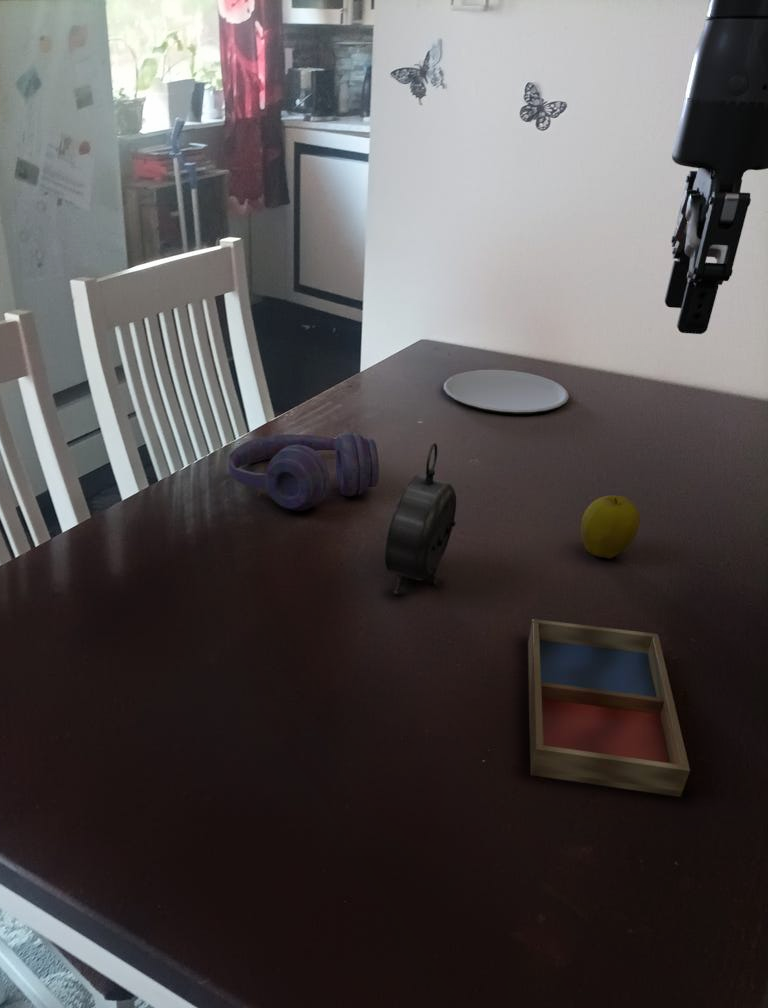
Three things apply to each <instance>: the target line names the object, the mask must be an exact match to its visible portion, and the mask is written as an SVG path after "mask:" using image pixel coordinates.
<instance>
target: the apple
mask: <svg viewBox="0 0 768 1008" xmlns="http://www.w3.org/2000/svg"><path fill="white" fill-rule="evenodd" d="M639 512H640V511H639V510H638V508H637V506H636V504H634V502H633V501H632V500H630V499H629V498H628V497H627V498H626V497H625V496H621V495H620V496H619V495H613V494H612V495H605V496H602V497H599V498H597V499H595V500H594V501H592V502H591V503H590V504H589V506H587V508H586V509H585V511H584V513H583V515H582V519H581V527H580V533H581V538H582V542H583V546H584V548H585V550H586V551H587V552H588V553H589V554H590V555H591V556H594V557H599V558H605V559H613V558H614V557H616V556H618V555H620V554H621V553H622V552H624V550H627V548H628V547H629V546H630V545H631V544H632V542H633V541H634V539H635V538H636V537H637V534H638V531H639V528H640V523H641V520H640V519H641V517H640V513H639Z"/></svg>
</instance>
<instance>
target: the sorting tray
mask: <svg viewBox="0 0 768 1008" xmlns="http://www.w3.org/2000/svg"><path fill="white" fill-rule="evenodd" d="M527 659H528V660H527V667H528V669H527V671H528V714H529V715H528V717H529V718H528V719H529V720H528V721H529V760H530V761H529V762H530V763H529V764H530V765H529V766H530V767H529V768H530V775H531V776H534V777H535V776H536V777H542V778H549V779H556V780H563V781H569V782H576V783H583V784H588V785H589V784H590V785H596V786H603V787H610V788H615V789H616V788H617V789H623V790H632V791H636V792H643V793H644V792H645V793H651V794H659V795H665V796H671V797H678V798H681V797H682V794H683V791H684V789H685V787H686V783H687V781H688V778H689V775H690V772H691V769H690V764H689V760H688V756H687V755H688V754H687V751H686V747H685V743H684V739H683V735H682V730H681V726H680V721H679V718H678V713H677V709H676V706H675V705H676V704H675V701H674V697H673V692H672V688H671V683H670V679H669V675H668V670H667V667H666V663H665V658H664V653H663V649H662V645H661V641H660V637H659V633H654V632H645V631H644V632H643V631H635V630H627V629H619V628H611V627H602V626H595V625H584V624H577V623H568V622H562V621H561V622H560V621H552V620H546V619H545V620H544V619H536V618H532V620H531V625H530V630H529V636H528V640H527Z"/></svg>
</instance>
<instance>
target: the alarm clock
mask: <svg viewBox="0 0 768 1008" xmlns="http://www.w3.org/2000/svg"><path fill="white" fill-rule="evenodd" d="M433 450H434V455H433V456H434V457H433V462H432V466H431V467H430V461H431V457H432V453H433ZM437 459H438V445H437V443H436V442H433V443H432V444H431V445H430V446H429V450H428V453H427V458H426V463H425V464H426V465H425V467H426V468H425V475H426V476H422V475H420V474H416V475H413V476H412V478H410V479H409V481H408V482H407V483H406V484H405V486H404V488H403V490H402V492H401V494H400V496H399V498H398V500H397V502H396V505H395V507H394V510H393V514H392V517H391V521H390V524H389V528H388V532H387V537H386V542H385V551H384V564H385V568H386V570H387V572H389V573H392V574H394V575H395V574H396V575H397V580H396V584H395V589H394V590H393V593H392V595H393V596H395V597H398V596H399V595H400V589H401V588H402V585H403V583H404V581H405V579H406V578H408V579H413V580H416V581H425V580H426V579H428V578H431V580H432V583H433V584H434V585H435V586H438V582H437V578H436V572H437V569H438V566H439V565H440V563H441V561H442V559H443V556H444V554H445V552H446V550H447V546H448V543H449V541H450V538H451V534H452V530H453V527H455V526H456V521H455V517H456V511H457V495H456V490H455V489H454V487H453V486H452V484H451V483H449V482H445V481H442V480H438V479H434V475H436V470H435V467H436V463H437Z"/></svg>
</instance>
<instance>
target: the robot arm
mask: <svg viewBox="0 0 768 1008" xmlns="http://www.w3.org/2000/svg"><path fill="white" fill-rule="evenodd" d="M705 18H706V19H705V20H704V24H703V27H702V30H701V34H700V37H699V40H698V42H697V45H696V48H695V50H694V51H695V52H694V54H693V59H692V62H691V67H690V71H689V76H688V80H687V85H686V88H685V93H684V98H683V102H682V106H681V111H680V116H679V121H678V126H677V130H676V135H675V139H674V143H673V149H672V153H671V157H672V158H671V159H672V161H673V162H674V164H676V165H679V166H683V167H688V168H695V169H697V170H689V172H688V175H686V177H685V185H684V186H685V187H684V191H683V195H682V198H681V203H680V207H679V210H678V215H677V220H676V223H675V228H674V231H673V232H674V233H673V235H672V236H671V240H670V242H671V247H672V250H671V254H672V259H673V263H672V267H671V271H670V276H669V280H668V284H667V289H666V293H665V297H664V304H665V306H666V307H667V308H673V309H680V311H679V315H678V319H677V323H676V327H677V330H678V332H680V333H682V334H691V335H693V334H694V335H702V334H704V333H706V332H707V331H708V328H709V323H710V321H711V317H712V313H713V308H714V305H715V301H716V299H717V294H718V291H719V286H723V284H724V282H729V280H730V278H731V277H732V276H733V267H734V265H735V260H736V255H737V251H738V248H739V244H740V240H741V236H742V233H743V228H744V224H745V219H746V217H747V214H748V209H749V206H750V205H751V201H752V198H751V193H750V192H741V188H742V183H743V177H744V174H745V173H746V172H747V171H762V170H763V171H764V170H767V169H768V0H709V1H708V6H707V10H706V15H705ZM708 258H714V259H716V260H715V261H716V262H707V259H708Z"/></svg>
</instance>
